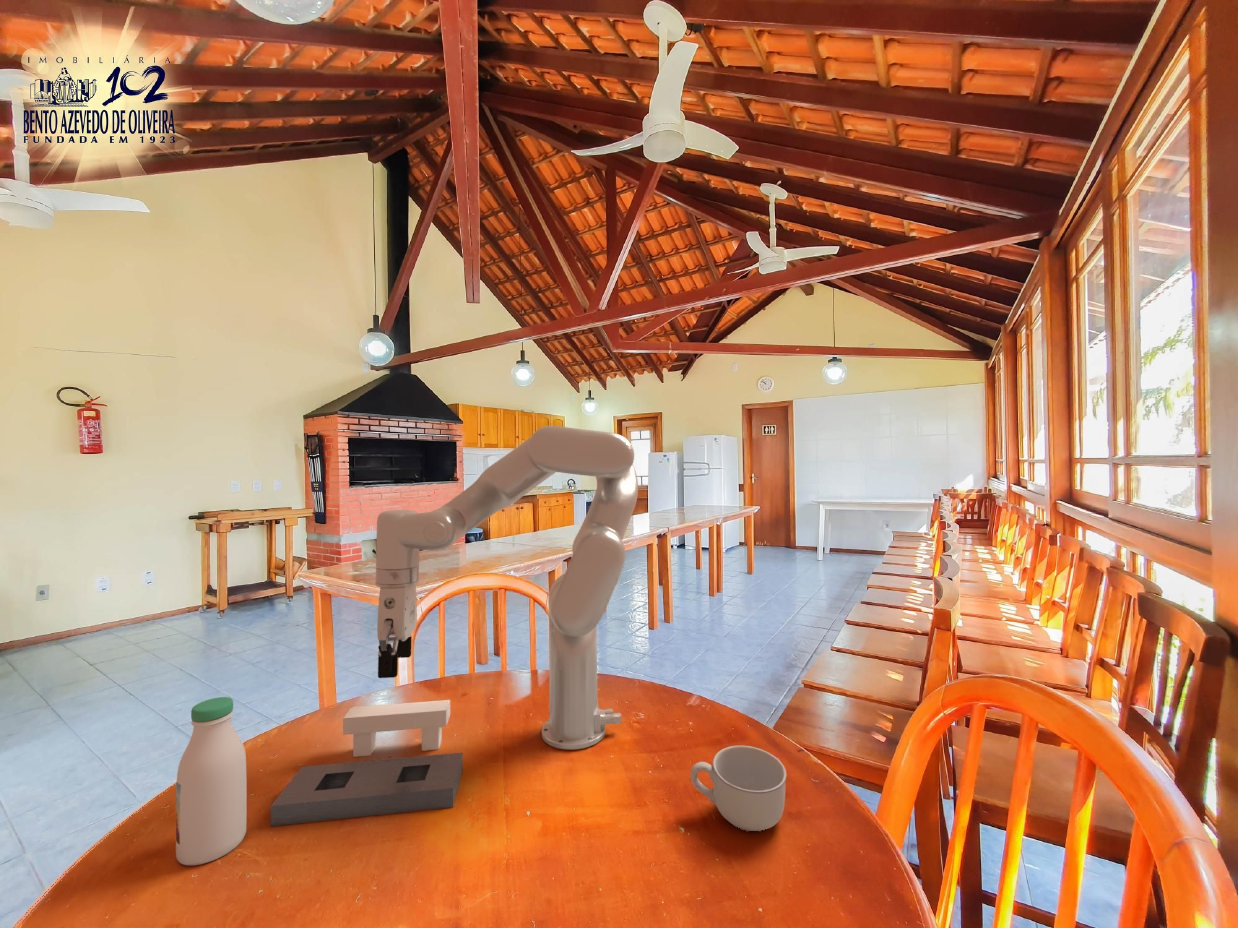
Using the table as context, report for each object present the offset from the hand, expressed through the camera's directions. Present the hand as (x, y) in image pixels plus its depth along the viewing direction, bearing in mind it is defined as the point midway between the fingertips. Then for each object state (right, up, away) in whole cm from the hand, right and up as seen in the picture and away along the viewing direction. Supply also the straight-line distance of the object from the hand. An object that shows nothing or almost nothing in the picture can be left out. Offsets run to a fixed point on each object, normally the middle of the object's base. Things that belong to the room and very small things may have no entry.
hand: (395, 666), depth 96 cm
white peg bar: (+1, -15, 0) cm, 15 cm away
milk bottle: (-15, -16, -25) cm, 33 cm away
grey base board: (+3, -15, -14) cm, 21 cm away
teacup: (+60, -15, -19) cm, 65 cm away
